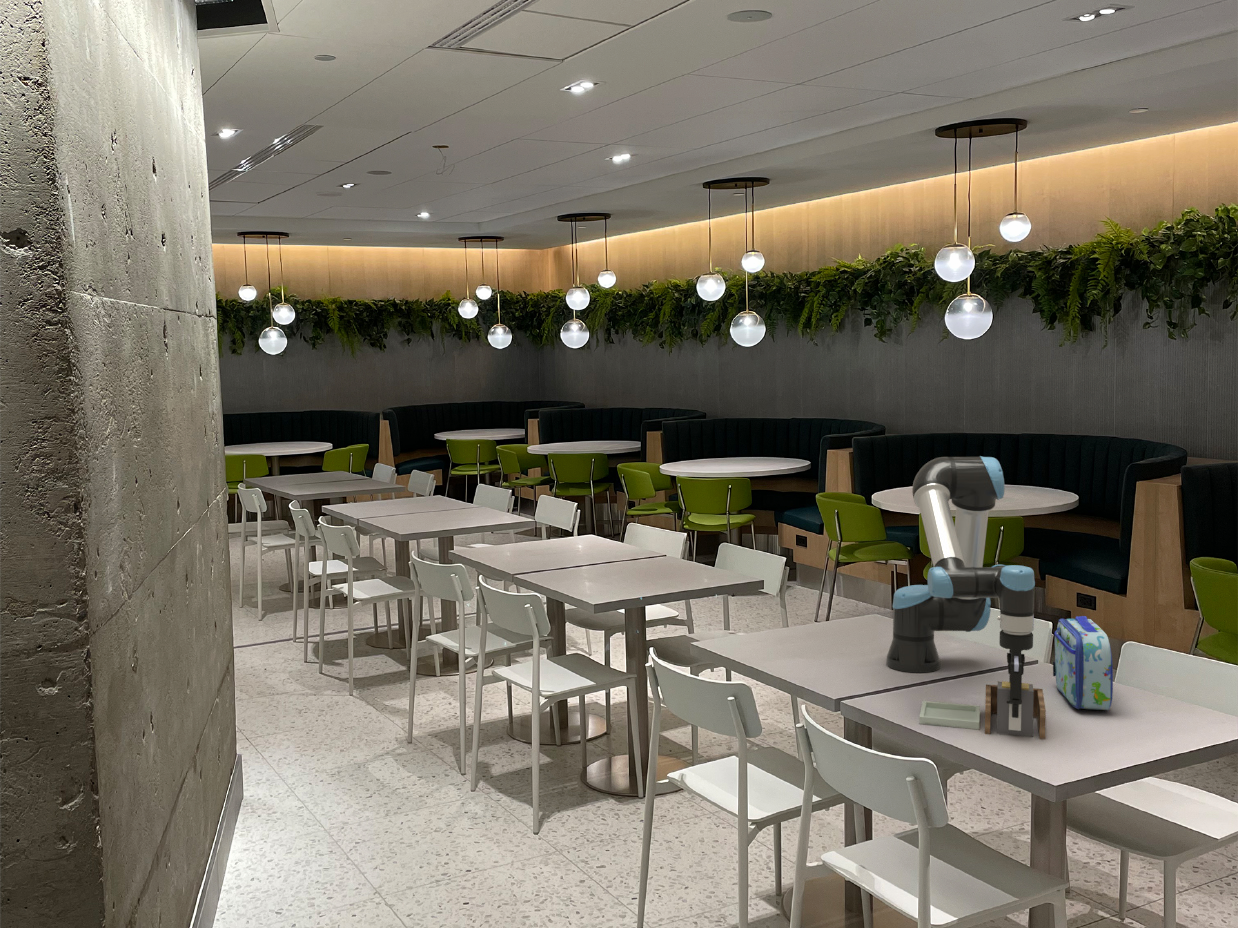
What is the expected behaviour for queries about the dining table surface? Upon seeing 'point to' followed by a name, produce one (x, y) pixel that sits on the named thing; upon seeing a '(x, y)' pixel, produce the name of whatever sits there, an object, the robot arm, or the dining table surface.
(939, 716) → the tray
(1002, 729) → the grey box yellow panel
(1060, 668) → the lunch box
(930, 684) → the dining table surface
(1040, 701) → the bay
